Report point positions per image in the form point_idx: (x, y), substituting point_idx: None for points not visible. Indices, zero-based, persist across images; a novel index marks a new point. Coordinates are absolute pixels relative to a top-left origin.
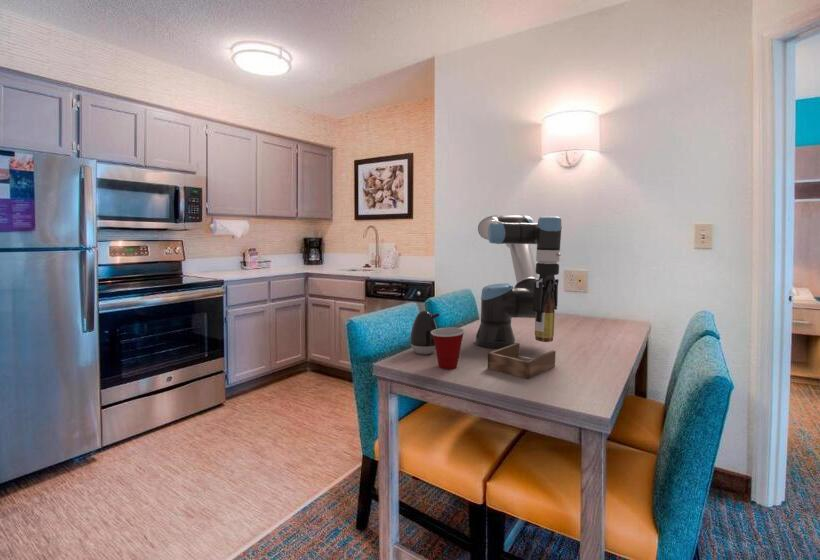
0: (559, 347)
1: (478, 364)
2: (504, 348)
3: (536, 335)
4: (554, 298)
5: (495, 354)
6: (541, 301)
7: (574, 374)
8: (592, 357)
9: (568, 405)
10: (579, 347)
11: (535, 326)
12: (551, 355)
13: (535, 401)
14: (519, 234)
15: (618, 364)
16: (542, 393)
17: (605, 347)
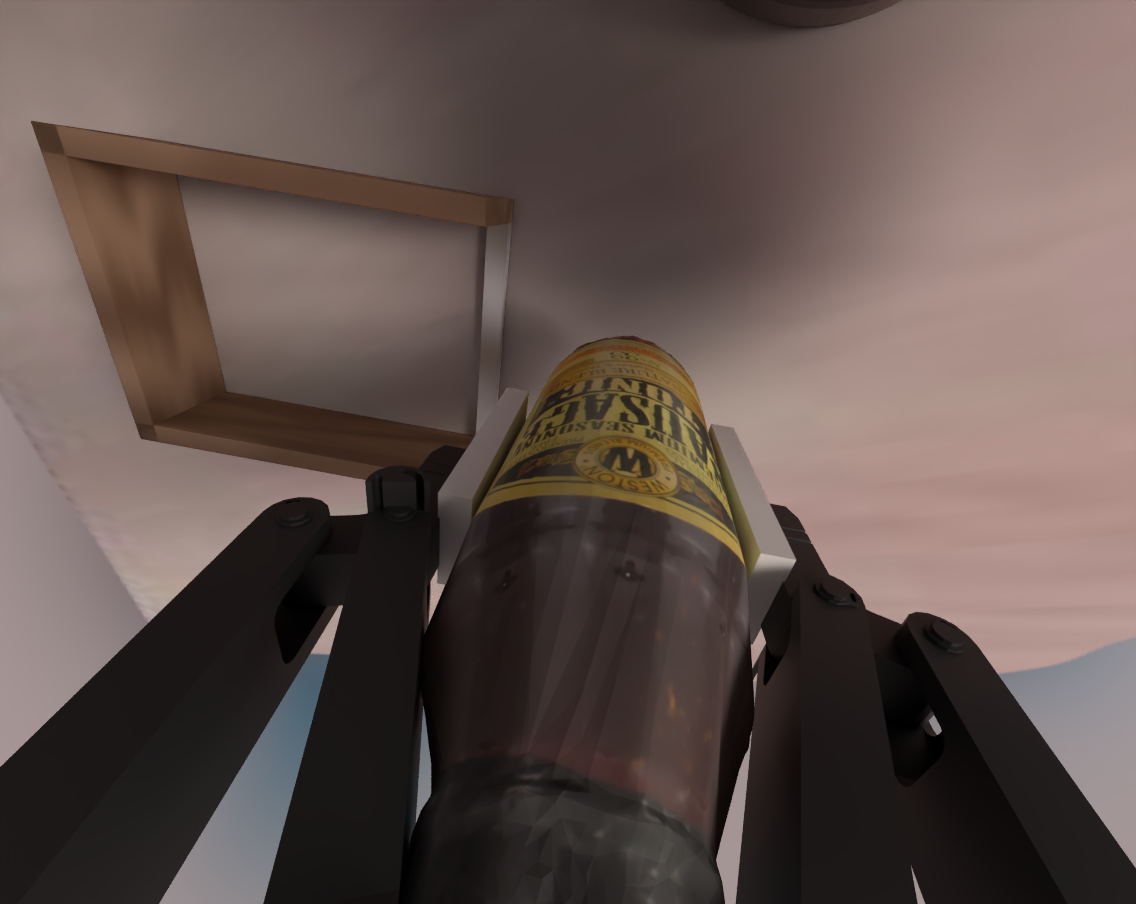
0: (949, 382)
1: (150, 24)
2: (245, 182)
3: (554, 371)
4: (921, 833)
5: (62, 198)
6: (249, 733)
7: None
8: None
9: (137, 569)
10: (996, 487)
11: (558, 380)
12: None
13: (62, 489)
14: None
15: None
16: (140, 490)
17: (1046, 598)
